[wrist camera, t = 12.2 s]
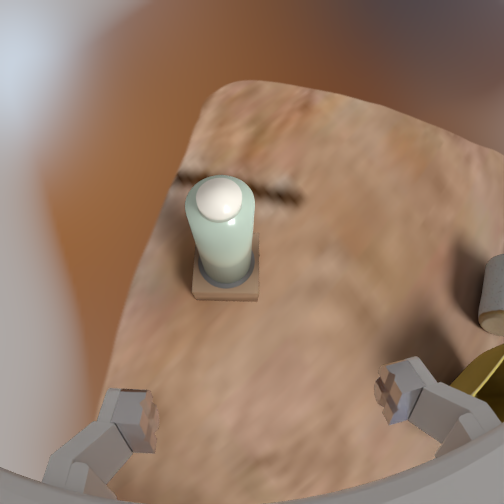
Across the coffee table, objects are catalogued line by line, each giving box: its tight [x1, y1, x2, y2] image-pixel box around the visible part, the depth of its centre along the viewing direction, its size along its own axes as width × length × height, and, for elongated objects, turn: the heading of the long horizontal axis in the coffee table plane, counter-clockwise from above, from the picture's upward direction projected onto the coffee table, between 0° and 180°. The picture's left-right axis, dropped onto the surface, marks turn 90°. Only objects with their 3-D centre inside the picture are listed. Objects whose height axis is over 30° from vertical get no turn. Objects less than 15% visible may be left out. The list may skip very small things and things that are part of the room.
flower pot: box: [450, 344, 504, 423], centre depth 22 cm, size 9×9×9 cm
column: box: [185, 175, 255, 284], centre depth 24 cm, size 4×4×11 cm
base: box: [192, 233, 259, 302], centre depth 30 cm, size 6×6×3 cm
